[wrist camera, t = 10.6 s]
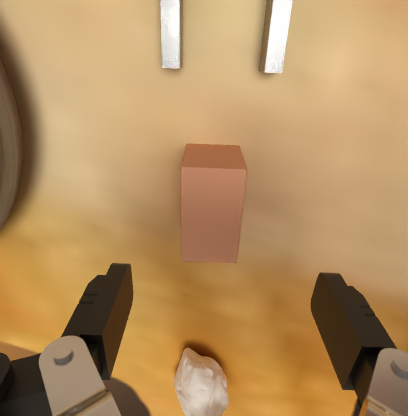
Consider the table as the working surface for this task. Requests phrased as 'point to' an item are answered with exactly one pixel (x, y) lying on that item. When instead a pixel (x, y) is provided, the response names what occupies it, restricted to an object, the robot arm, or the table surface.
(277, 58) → the rectangular frame
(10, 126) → the plant saucer
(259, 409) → the table surface
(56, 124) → the table surface
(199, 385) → the bust
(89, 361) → the robot arm
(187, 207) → the block
